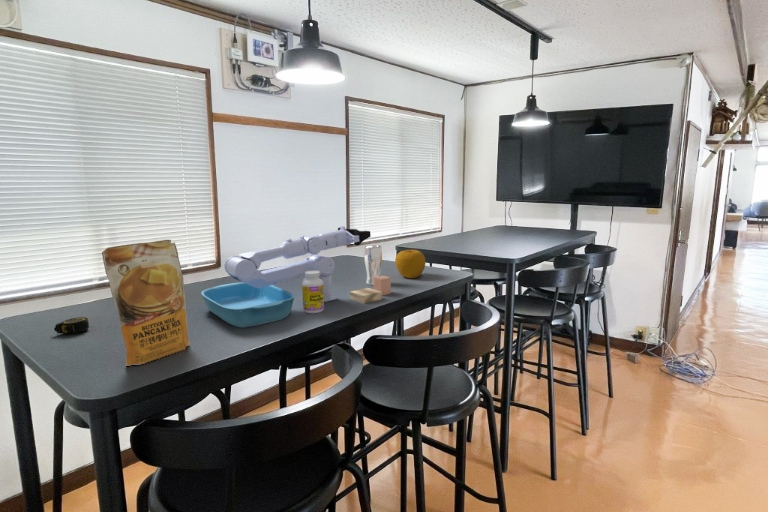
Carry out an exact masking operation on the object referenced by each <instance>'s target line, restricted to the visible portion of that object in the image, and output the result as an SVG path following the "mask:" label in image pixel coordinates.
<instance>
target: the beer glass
mask: <svg viewBox="0 0 768 512" xmlns="http://www.w3.org/2000/svg"><path fill="white" fill-rule="evenodd" d="M363 253H364V254H363V255H364V256H363V257H364V265H365V271H366V281H365V282H366V285H368V286H374V285H373V277H378V276H381V271H382V270H381V269H382V263H383V262H382V261H383V249H382V245H377V244H369V245H368V244H367V245H365V246H364V252H363Z"/></svg>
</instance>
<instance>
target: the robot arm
mask: <svg viewBox="0 0 768 512" xmlns="http://www.w3.org/2000/svg"><path fill="white" fill-rule="evenodd" d="M371 235H372V234H371V230H359V229H357V228H346V227H345V226H343V225H341V226H339V227H338V228H337V230H334V231H329V232H325V233H324V232H323V233H320V234H316V235H312V236H311V235H302V236H300V237H299V238H296V239H291V238H287V239H286V240H285V241H283V242H282V243H280V246H275V247H271V248H264V249H258V250H253V251H248V252H242V253H239V254H238V255H232V256H230V257H228V258H227V259H226V260H225V261H224V262H225V263H224V270H225V272H226V273H227V275H228V276H230V277H231V278H232V279H234V280H236V281H237V282H238V281H239V283H242V282H243V283H245V284H248V285H250V286H253V287H255V288H262V287H266V286H270V285H273V286H274V285H277V284H281V283H284V282H288V281H291V280H295V279H299V278H302V277H304V278H303V280H302V282H303V281H304V280H305V279H306V277H305V272H306V271H312V270H315V271H320V276H319V279H321V280H322V281H323V292H324V303H325V302H329V301H330V302H331V301H334V300H338V298H337V297H336V296H334V295H333V296H332V273H333V272H334V270H335V261H334V260H333V258H332V257H329V256H323V255H318V254H320V252H321V251H326V250H331V249H335V248H339V247H345V246H348V245H351V244H354V246H356V247H357V246H360V245H361V244H362V243H363V242H365V241H366V240H367V239H369V238H371ZM307 254H309V256H308V257H306V258H302V259H301V260H300V261H298V262H294V263H290V264H285V265H282V266H277V267H273V268H269V269H265V270H259V269H260V267H261V264H262V263H264V262H267V261H268V262H269V261H272V260H274V259H279V258H281V257H283V258H285V260H288V259H293V258H297V257H302V256H305V255H307ZM302 301H303V297H302Z"/></svg>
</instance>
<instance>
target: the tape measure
mask: <svg viewBox="0 0 768 512" xmlns="http://www.w3.org/2000/svg"><path fill="white" fill-rule="evenodd" d="M89 328H90V322H89V319H88V317H85V316H80V317H79V316H78V317H73V318H69V319H66V320H63V321H61V322H58V323H56V324H55V327H53V329H54V332H56V334H64V335H65V334H66V335H70V334H77V333H78V332H80V333H82V332H84V331H87V330H88V329H89ZM78 334H79V333H78Z"/></svg>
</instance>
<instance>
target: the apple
mask: <svg viewBox="0 0 768 512" xmlns="http://www.w3.org/2000/svg"><path fill="white" fill-rule="evenodd" d="M394 261H395V262H394V265H395V268H396V270H397V271H398V273H399V274H400V275H401V276H402V277H404V278H407V279H416V278H419V277H420V276H421V275H422V273H423V272H424V270H425V269H426V268H425V267H426V263H427V262H426V257H425V255H424V253H423V252H421V251H420V250H417V249H404V250H400V251H399V252H398V253H397V254H396V256H395V259H394Z"/></svg>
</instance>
